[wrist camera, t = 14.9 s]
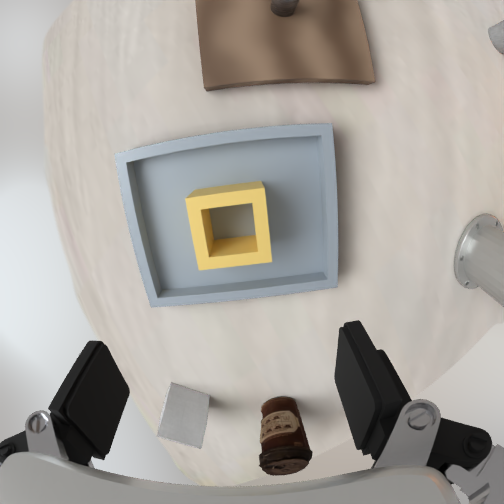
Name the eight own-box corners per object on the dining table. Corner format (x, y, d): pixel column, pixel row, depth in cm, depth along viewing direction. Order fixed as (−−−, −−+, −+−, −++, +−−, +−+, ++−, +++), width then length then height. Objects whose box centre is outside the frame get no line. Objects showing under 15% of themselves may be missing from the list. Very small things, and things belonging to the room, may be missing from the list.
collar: (261, 180, 28) (264, 187, 24) (267, 243, 31) (272, 262, 26) (194, 189, 28) (185, 198, 24) (205, 251, 31) (198, 270, 26)
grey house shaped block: (171, 382, 40) (159, 430, 31) (209, 395, 42) (204, 443, 32) (166, 393, 41) (155, 440, 32) (202, 405, 43) (197, 452, 33)
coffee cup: (244, 402, 42) (245, 467, 30) (287, 385, 41) (298, 452, 29) (270, 423, 45) (275, 480, 33) (309, 407, 44) (322, 466, 32)
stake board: (339, -31, 18) (344, -38, 17) (367, 84, 25) (375, 81, 23) (195, -28, 19) (192, -36, 17) (206, 91, 25) (204, 87, 24)
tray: (323, 125, 27) (331, 123, 24) (330, 275, 34) (337, 287, 31) (125, 152, 27) (114, 154, 25) (157, 294, 34) (151, 307, 31)
